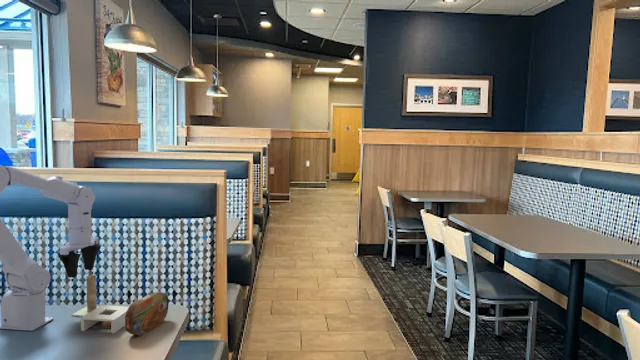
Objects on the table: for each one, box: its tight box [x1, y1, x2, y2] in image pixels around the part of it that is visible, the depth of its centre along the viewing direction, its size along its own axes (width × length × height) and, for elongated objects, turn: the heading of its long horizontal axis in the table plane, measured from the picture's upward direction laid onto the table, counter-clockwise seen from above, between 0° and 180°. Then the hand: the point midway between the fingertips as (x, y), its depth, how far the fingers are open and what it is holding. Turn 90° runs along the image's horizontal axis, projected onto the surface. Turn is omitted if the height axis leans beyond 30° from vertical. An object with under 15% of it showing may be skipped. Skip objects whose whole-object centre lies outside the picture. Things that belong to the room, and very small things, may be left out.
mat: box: [71, 305, 100, 318], centre depth 126 cm, size 7×7×1 cm
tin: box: [125, 291, 169, 336], centre depth 116 cm, size 15×3×8 cm, turn 165°
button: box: [101, 321, 111, 326], centre depth 118 cm, size 3×3×2 cm
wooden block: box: [85, 274, 98, 312], centre depth 126 cm, size 2×2×10 cm
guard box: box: [80, 304, 129, 334], centre depth 118 cm, size 9×9×4 cm
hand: (80, 273), depth 130 cm, fingers open, 7 cm apart
